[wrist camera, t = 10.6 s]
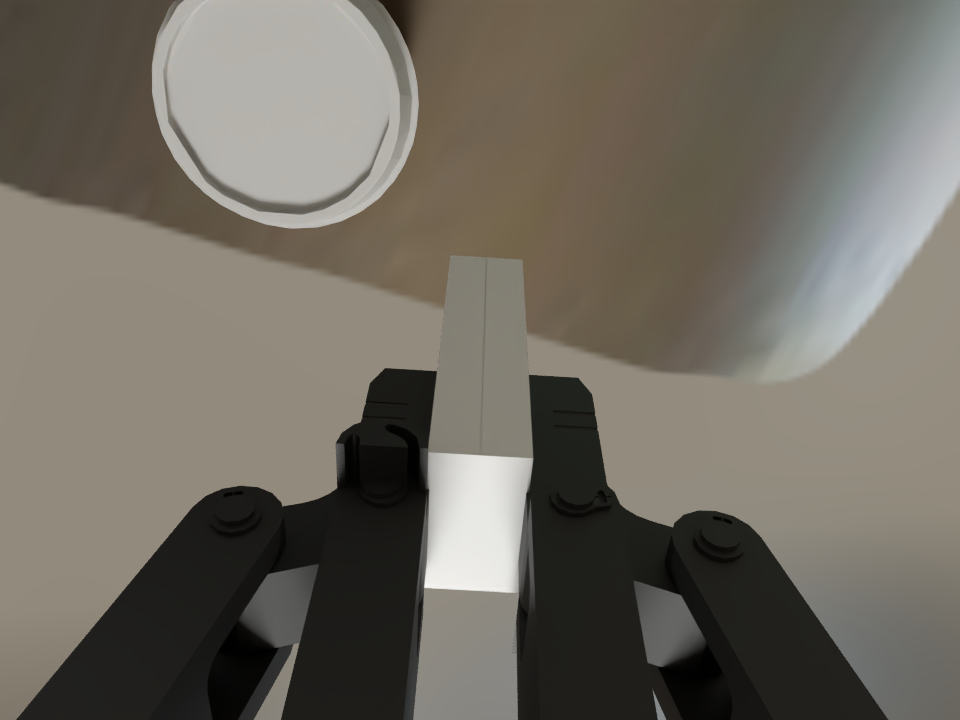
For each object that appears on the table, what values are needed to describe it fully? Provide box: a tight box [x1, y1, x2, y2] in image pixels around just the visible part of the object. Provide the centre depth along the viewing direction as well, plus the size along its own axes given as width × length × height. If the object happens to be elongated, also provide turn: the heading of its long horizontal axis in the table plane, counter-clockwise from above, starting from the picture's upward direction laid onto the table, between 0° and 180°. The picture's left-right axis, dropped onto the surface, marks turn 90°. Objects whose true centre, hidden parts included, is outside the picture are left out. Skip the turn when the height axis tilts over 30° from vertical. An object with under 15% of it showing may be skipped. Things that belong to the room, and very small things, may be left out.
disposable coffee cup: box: [152, 0, 419, 228], centre depth 34 cm, size 10×10×12 cm
